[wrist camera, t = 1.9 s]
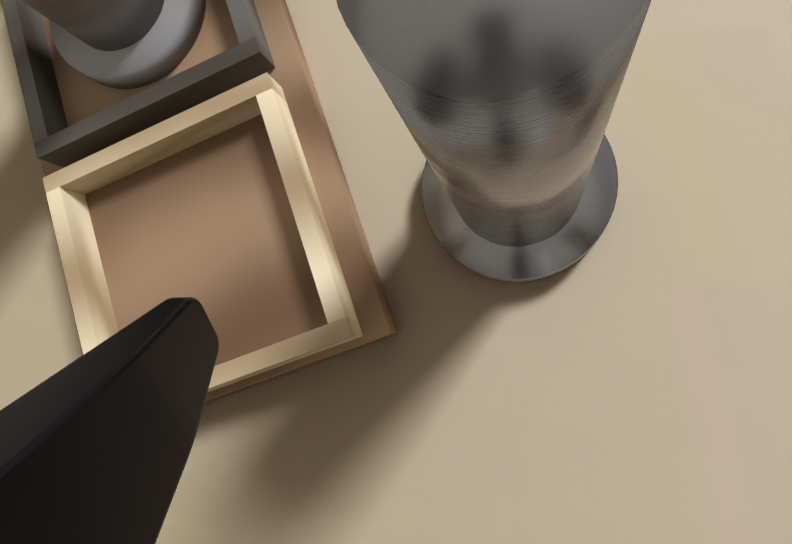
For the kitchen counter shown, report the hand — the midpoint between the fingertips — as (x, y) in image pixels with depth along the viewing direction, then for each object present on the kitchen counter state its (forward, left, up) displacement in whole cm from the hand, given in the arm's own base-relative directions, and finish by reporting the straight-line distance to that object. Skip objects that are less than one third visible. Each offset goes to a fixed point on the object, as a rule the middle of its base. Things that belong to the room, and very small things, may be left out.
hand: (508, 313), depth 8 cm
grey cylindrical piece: (+3, +3, -11) cm, 12 cm away
